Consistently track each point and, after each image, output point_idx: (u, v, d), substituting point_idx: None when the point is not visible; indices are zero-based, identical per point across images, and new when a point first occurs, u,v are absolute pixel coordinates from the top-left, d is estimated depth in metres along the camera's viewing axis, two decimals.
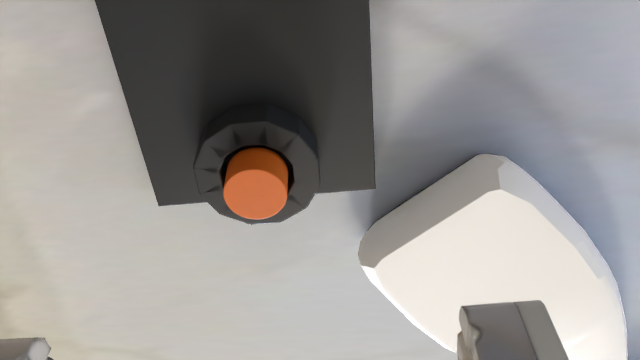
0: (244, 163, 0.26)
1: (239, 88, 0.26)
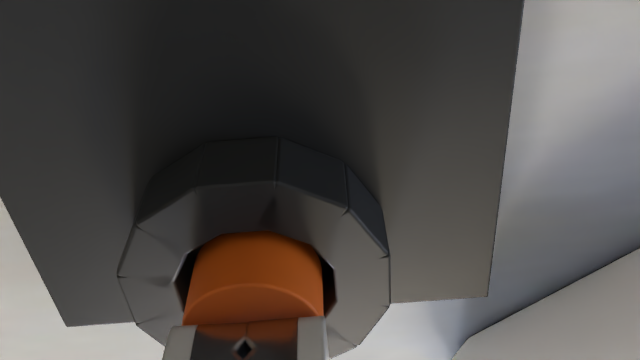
0: (228, 267, 0.11)
1: (217, 103, 0.12)
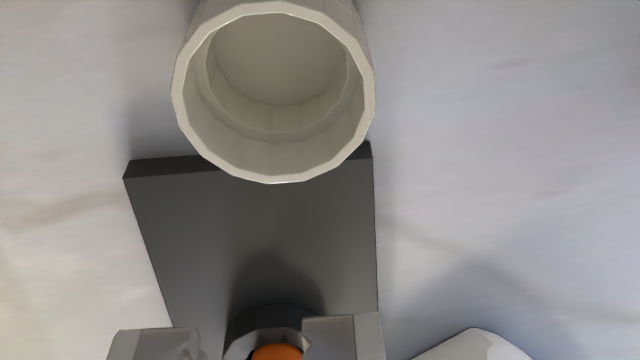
0: None
1: (263, 293, 0.30)
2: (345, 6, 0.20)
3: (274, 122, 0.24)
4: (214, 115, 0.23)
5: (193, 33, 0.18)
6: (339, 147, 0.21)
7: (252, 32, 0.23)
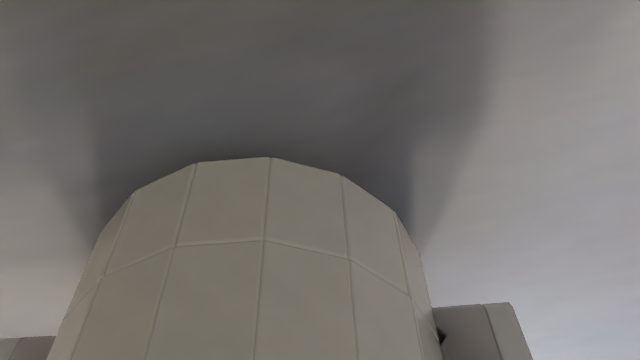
0: None
1: None
2: (396, 279, 0.10)
3: None
4: None
5: None
6: None
7: None
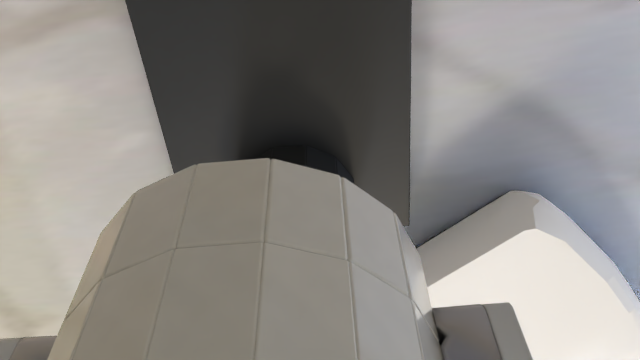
0: None
1: (278, 130, 0.26)
2: (396, 281, 0.10)
3: None
4: None
5: None
6: None
7: None
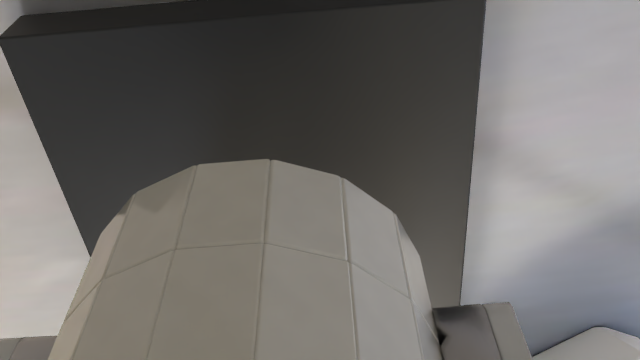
0: None
1: None
2: (396, 281, 0.10)
3: None
4: None
5: None
6: None
7: None
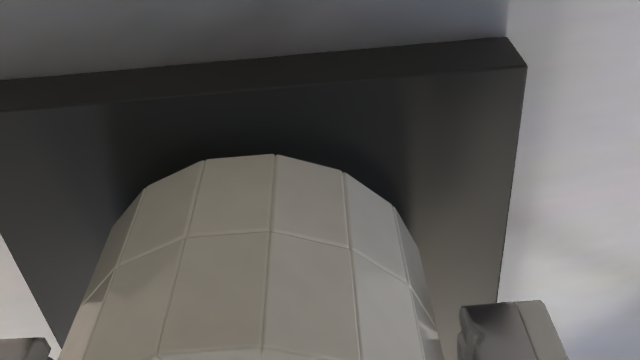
0: None
1: None
2: (395, 269, 0.10)
3: None
4: None
5: None
6: None
7: None
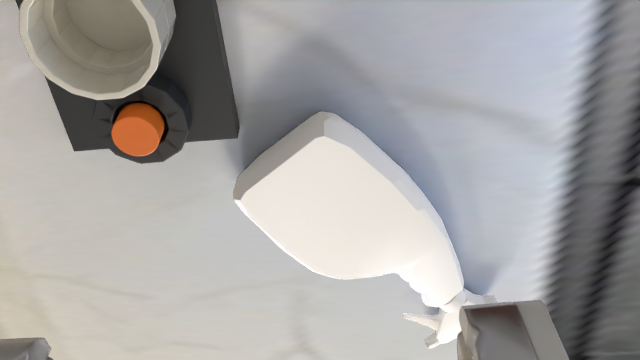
0: (126, 113, 0.35)
1: None
2: None
3: (113, 61, 0.34)
4: (64, 54, 0.32)
5: None
6: (143, 73, 0.31)
7: None
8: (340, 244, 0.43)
